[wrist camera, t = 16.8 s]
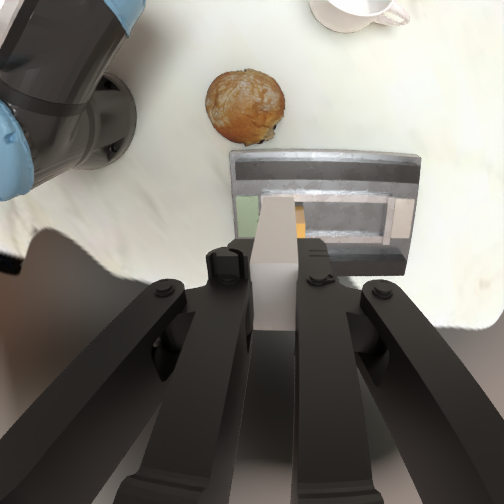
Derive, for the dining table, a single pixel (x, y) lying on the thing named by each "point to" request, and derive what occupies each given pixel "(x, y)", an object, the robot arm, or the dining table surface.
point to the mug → (356, 13)
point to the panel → (335, 201)
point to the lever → (300, 220)
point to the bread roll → (245, 106)
